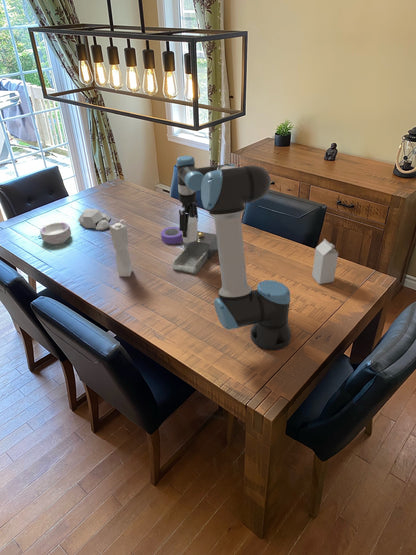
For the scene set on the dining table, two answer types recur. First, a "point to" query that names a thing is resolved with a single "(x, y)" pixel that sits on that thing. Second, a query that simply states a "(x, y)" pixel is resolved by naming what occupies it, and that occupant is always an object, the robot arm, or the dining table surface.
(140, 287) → the dining table surface
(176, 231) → the tape roll
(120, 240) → the skyscraper
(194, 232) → the white cup
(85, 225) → the rock
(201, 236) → the grey cabinet
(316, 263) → the white milk carton
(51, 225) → the paper bowls
